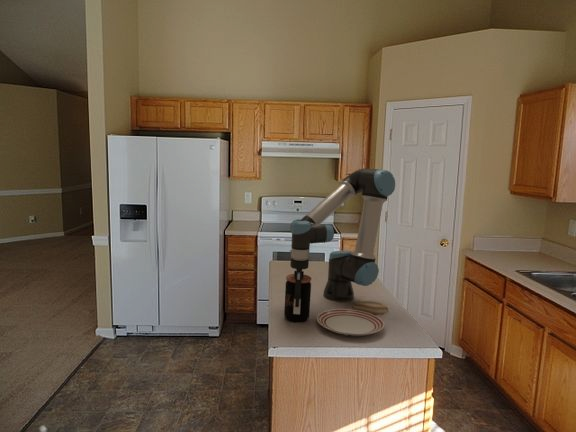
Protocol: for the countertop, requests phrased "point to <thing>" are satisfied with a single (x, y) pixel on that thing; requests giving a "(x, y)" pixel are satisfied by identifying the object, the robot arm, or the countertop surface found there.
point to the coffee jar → (304, 299)
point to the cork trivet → (370, 307)
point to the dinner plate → (350, 322)
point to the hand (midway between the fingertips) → (297, 308)
